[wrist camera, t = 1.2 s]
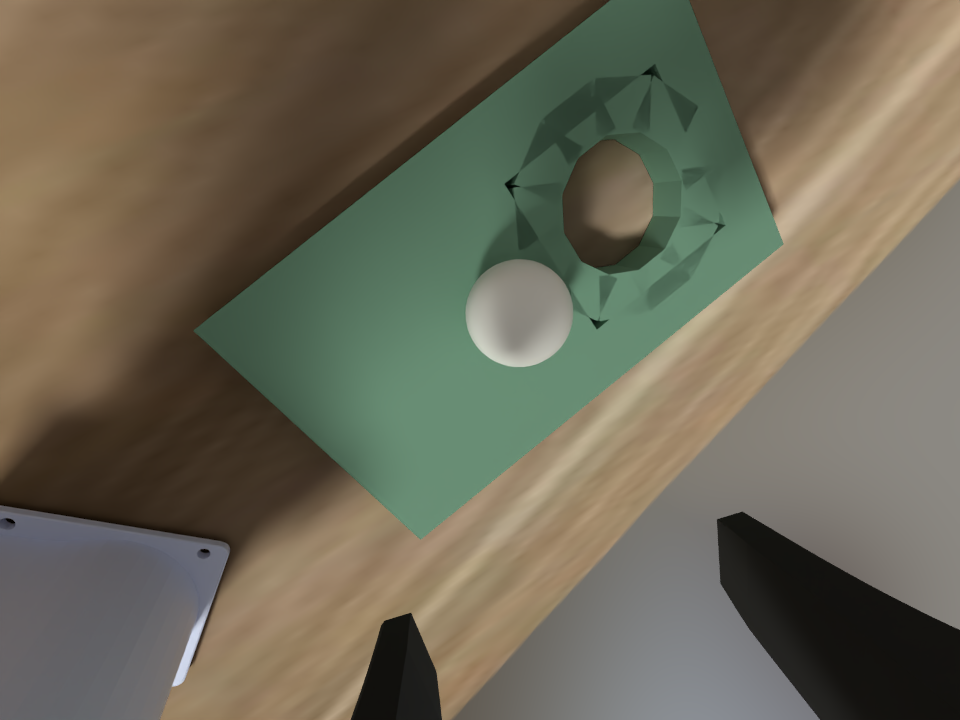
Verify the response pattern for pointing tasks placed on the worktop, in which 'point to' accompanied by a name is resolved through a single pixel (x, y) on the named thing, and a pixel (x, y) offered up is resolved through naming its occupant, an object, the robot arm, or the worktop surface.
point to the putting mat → (492, 240)
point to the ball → (519, 313)
